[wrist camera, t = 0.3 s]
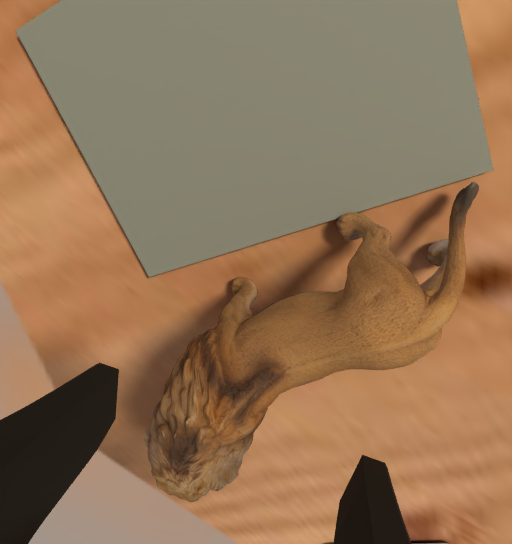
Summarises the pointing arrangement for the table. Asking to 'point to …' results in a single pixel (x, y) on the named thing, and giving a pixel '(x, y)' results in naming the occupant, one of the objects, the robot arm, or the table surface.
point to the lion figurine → (298, 350)
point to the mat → (258, 112)
